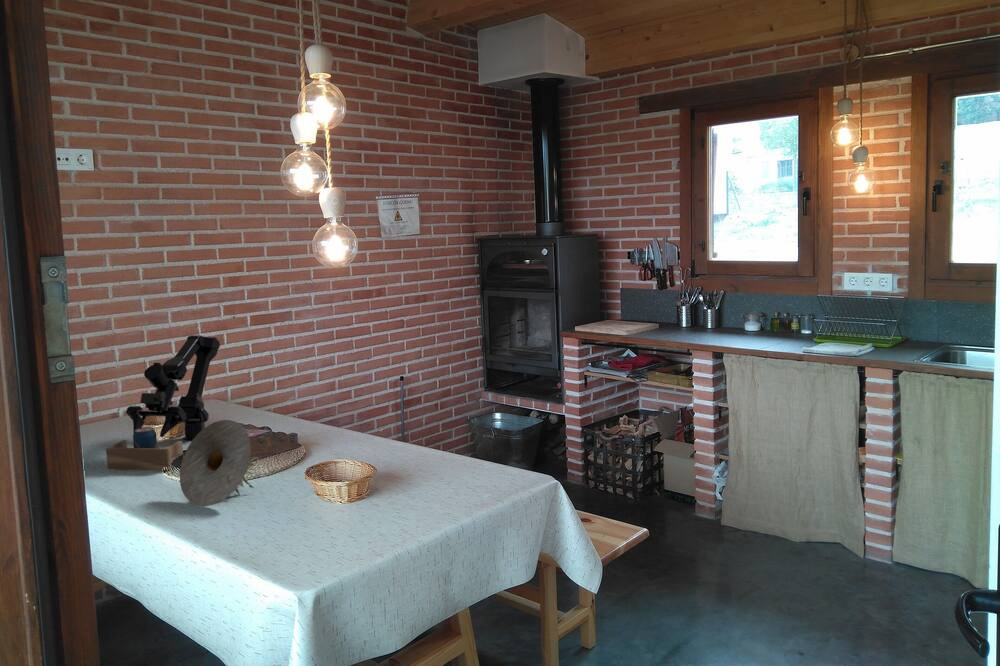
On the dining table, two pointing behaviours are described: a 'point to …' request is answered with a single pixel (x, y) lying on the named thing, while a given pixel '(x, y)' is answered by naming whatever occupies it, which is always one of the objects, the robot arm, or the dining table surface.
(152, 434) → the soda can
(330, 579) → the dining table surface
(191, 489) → the disc
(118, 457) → the wooden u-shaped frame
